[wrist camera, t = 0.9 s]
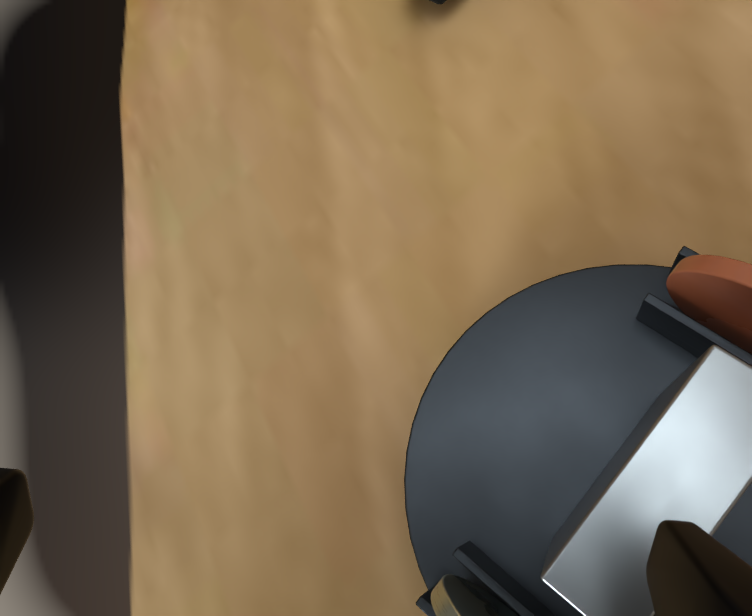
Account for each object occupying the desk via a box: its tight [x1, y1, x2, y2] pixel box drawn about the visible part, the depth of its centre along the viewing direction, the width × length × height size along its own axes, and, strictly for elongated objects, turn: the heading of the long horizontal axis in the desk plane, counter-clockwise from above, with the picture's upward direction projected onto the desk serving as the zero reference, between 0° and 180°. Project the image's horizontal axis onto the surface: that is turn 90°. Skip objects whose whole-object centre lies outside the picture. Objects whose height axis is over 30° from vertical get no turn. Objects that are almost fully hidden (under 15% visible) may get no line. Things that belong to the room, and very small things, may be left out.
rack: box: [404, 246, 752, 616], centre depth 17 cm, size 15×15×9 cm
